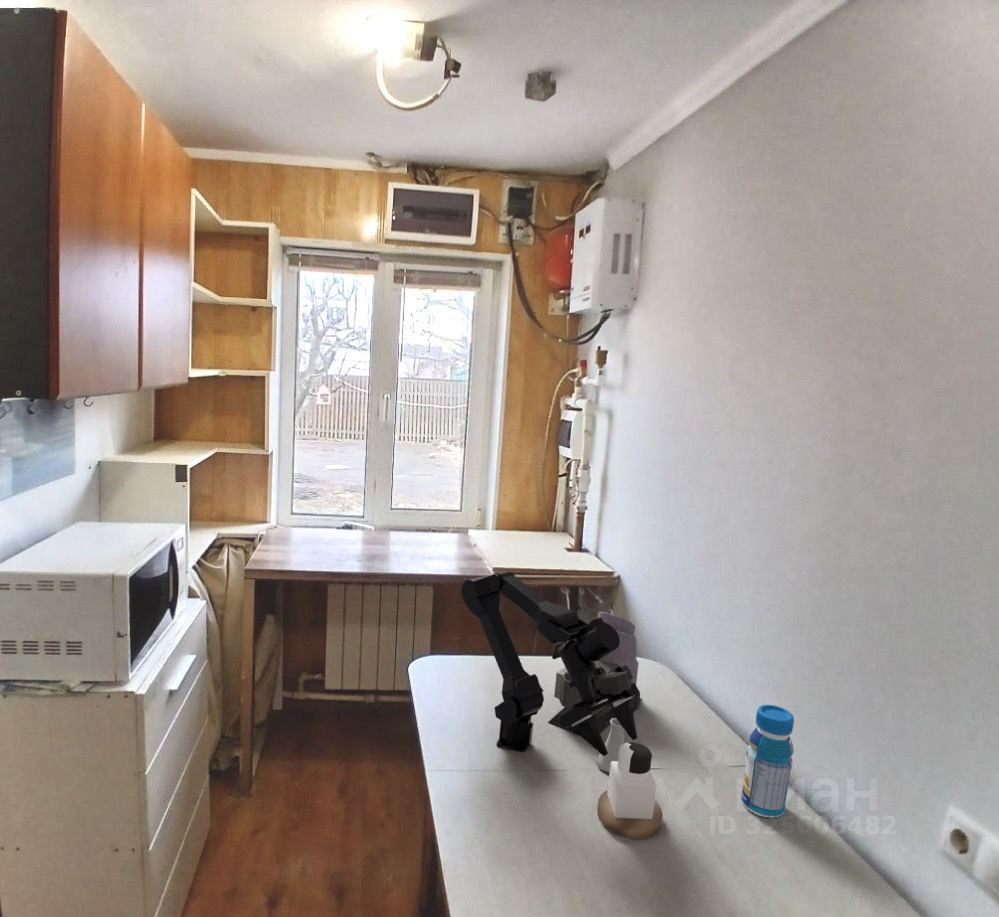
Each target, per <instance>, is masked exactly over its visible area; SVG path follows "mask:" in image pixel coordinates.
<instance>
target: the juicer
mask: <svg viewBox="0 0 999 917" xmlns="http://www.w3.org/2000/svg"><path fill="white" fill-rule="evenodd" d="M600 617H601V618H602V620H603V622H605V623H607V624H609V625H610V626H612V627H613V628H614V629H615V630H616V631H617V633H618V635H619V639H620V644H619V647H618V648H617V649H615V650H614V651H612V652H611V653H609V654H607V655H606V656H604V657H603V658H601V659H600V660H598V661H594V662H595V664H596V666H597V668H599V667H602V668H604V670H605V672H606V673H611V672H615V668H616V667H617V666H620V665H627V667H628V668H629V670H630V671H631V674H632V676H633V679H632V681H631V682H633V683H635V684H636V685H637V682H638V681H637V680H638V673H639V661H638V660H637V637H636V636H635V631H636V626H635V624H634V623H632V621H629V620H627V619H625V618H623V617H621V616H618V615H615V614H613V613H609V612H606V611H598V613H597V618H600ZM570 682H572V680H571V678H570V676H569V674H568V671H567V669H566V667H565V666H564V667H563V668H562V669H560V670H558V671H557V672H556V675H555V684H554V694H553V696H554V698H556V699H558V700H559V703H560V705H561V706H562V707H563V708H562V709H560V711H559V712H557V714H555V715H554V716H553V717H552V718H551V719H550V720H548V721H547V724H549V725H551V726H554V727H556V728H558V729H561V730H564V731H566V732H568V733H571V734H573V735H575V736H578V737H580V736H579V735H577V734H576V733H575V732H573V731H569V730H568V729H569V728H571V727H572V725H571V726H569V727H567V728H564V729H563V728H562V726H561V724H560V722H559V713H561V712H563V711H564V710H566V709H568V708H570V707H571V706H573V705H575V704H577V703H579V702H581V701H582V700H581V698H580V696H579V694H578V692H577V690H576V688H575V687H573V688H570V685H569V683H570ZM635 696H637V699H636V700H635V702H634V705H633V714H634V713H636V712H637V711H638V709H639V708H640V702H641V701H643V698H642V697H641V692H640V690H639V693H637V694H635V695H634V696H632V698H633V697H635ZM601 701H603V699H602V700H601ZM593 704H596V703H595V702H594V703H593ZM613 708H614V706H610V705H607V706H605V707H602V708H600V709H598V710H596V711H594V712H592V714H591V716H594V715H597V717H596V726H597V728H598V731H599V733H600V734H601V733H602V732H604V731H605V730H606V729H607V728H608V727H609V726H611V724H610V720H611V719H612V718H616V717H615V716H614V715H613V713H612V712H611V709H613Z"/></svg>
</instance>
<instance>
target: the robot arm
mask: <svg viewBox="0 0 999 917" xmlns="http://www.w3.org/2000/svg"><path fill="white" fill-rule="evenodd" d="M460 594H461V597H462V600H463V602H464V603H465V605H466V607H467V609H468V610H469V611H470V613H472V614H473V615H475V616H476V617H477V618H478V619H479V621H480V624H481V625H482V628H483V631H484V633H485V636H486V638H487V641H488V644H489V646H490V650H491V651H492V654H493V656H494V659H495V662H496V664H497V666H498V669H499V672H500V674H501V676H502V686H501V688H502V689H501V695H502V696H501V697H502V699H503V701H502V702H500V703H499V704H498V705H496V706H494V714H495V718H496V719H498V720H500V723H499V724H500V726H499V737H498V739H497V741H496V746H498V747H502V748H507V749H509V750H514V751H519V752H523V753H524V752H526V750H527V748H528V747H529V746H530V744H531V743H532V739H533V730H534V722H532V716H536V715H537V714H538V713H539V711H540V710H541V709H542V707H543V704H544V701H545V697H544V689H543V688H542V686H541V684H540V682H539V677H538V676H537V675H536V673H534V674H529V673H528V672H527V671H526V670H525V669H524V667H523V664H522V662H521V660H520V657H519V655H518V654H519V653H517V649H516V647H515V645H514V642H513V640H512V637H511V635H510V633H509V630H508V628H507V625H506V624H505V621H504V618H503V616H502V613H501V610H500V606H501V600H502V597H501V596H504V598H506V599H507V600H508V601H510V602H511V603H512V604H514V605H515V606H516V607H517V608H518V609H520V610H521V611H522V612H523V613H524V614H526V615H527V616H528V617H530V618H531V620H532V621H534V623H535V628H536V630H537V631H538V632H539V633H540V635H541V636H542V637H543V638H544V639H545V640H546V641H547V642H549V644H556V645H554V649H553V653H552V656H551V659H552V660H557V659H559V658H561V661H562V663H563V665H564V668H565V667H566V669H567V671H568V674H569V676H570V678H571V680H572V682H570V683H569V685H570V688H573V687H575V688H576V690H577V692H578V694H579V696H580V698H581V700H582V701H581V702H579V703H577V704H575V705H573V706H571V707H570V708H568V709H566V710H564V711H563V712H561V713H559V712H558V713H559V722H560V724H561V726H562V728H563V729H564V728H567V727H569V726H571V725H572V727H571V728H569V729H568V730H569V731H573V732H575V733H576V734H577V735H579V736H578V737H580V738H582V739H583V740H584V741H585V742H587V743H588V744H589V745H590V746H591V747H592V748H593V749H594V750H596V751H597V752H598V753H599V754H602V755H603V756H605V755H607V754H608V752H607V749H606V746H605V742H604V739H603V738H602V735H601V733H599V731H598V728H597V726H596V717H597V715H594V716H591V714H592V712H594V711H596V710H598V709H600V708H602V707H605V706H607V705H610V706H614V708H613V709H611V712H612V713H613V715H614V716H615V717H616V719H617V720H618V721H619V723H620V724H621V726H622V727H623V731H625V732H626V734H627V736H629V739H631V740H632V741H635V740H637V739H638V733H637V728H636V722H635V716H634V713H633V705H634V702H635V700H636V699H637V696H635V697H633V698H632V696H634V695H635V694H637V693H639V691H640V690H639V688H638V686H637V683H636V684H635V683H633V682H631V681H632V679H633V676H632V674H631V671H630V670H629V668H628V667H627V665H620V666H617V667H616V668H615V672H611V673H606V672H605V670H604V668H602V667H599V668H597V666H596V664H595V662H594V661H598V660H600V659H601V658H603V657H604V656H606V655H607V654H609V653H611V652H612V651H614V650H615V649H617V648H618V647H619V644H620V639H619V635H618V633H617V631H616V630H615V629H614V628H613V627H612V626H610V625H609V624H607V623H605V622H603V620H602V618H601V617H600V618H598V617H596V618H594V619H593V620H591V621H590V622H589V623H588V622H586V621H585V620H583V619H581V618H580V617H579V616H578V615H577V614H576V613H575V611H573V610H571V609H569V608H567V607H566V606H563V605H561V604H558V603H552V602H550V601H548V600H546V599H545V598H544V597H543V596H541V595H540V594H539V593H537V592H536V591H535V590H533V589H532V588H531V587H529V586H528V585H527V584H526V583H524V582H523V581H522V580H520V579H519V577H518V578H517V576H516V575H515V574H514V572H512V571H511V570H503V571H497V572H494V573H493V574H492V575H484V576H479V577H473V578H470V579H469V578H468V579H466V580H465V581H463V583H462V587H461V590H460ZM560 642H562V643H560ZM557 643H558V644H557ZM563 643H564V644H563ZM602 699H603V701H601V700H602ZM594 702H595V703H596V704H593V703H594ZM563 729H562V730H563ZM577 735H576V736H577Z"/></svg>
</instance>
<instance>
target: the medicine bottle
mask: <svg viewBox="0 0 999 917" xmlns="http://www.w3.org/2000/svg"><path fill="white" fill-rule="evenodd" d="M652 758H653V754H652V752H651V750H650V749H649V748H648V747H647V746H646V745H644V744H642V743H639V742H633V741H630V742H628V741H627V742H624V744H623V745H621V746H620V748H619V756H618V761H612V762H611V765H610V773H609V775H608V783H607V784H608V786H607V790H608V792H607V795H608V798H609V801H610V804H611V807H612V810H613V813H614V816H615V818H628V819H652V818H653V810H654V802H655V801H656V791H657V783H656V780H655V779H654V776H653V774H652V772H651V766H652Z"/></svg>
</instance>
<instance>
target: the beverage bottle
mask: <svg viewBox="0 0 999 917" xmlns="http://www.w3.org/2000/svg"><path fill="white" fill-rule="evenodd" d="M794 723H795V718H794V715H793V714H792V712H791V711H789V710H788V709H785V708H784V707H781V706H778V705H773V704H762V705H760V706H759V707H758V708H757V710H756V716H755V725H756V727H755V729H754V730H752V732H751V733H750V736H749V739H748V742H749V745H748V746H747V748H746V753H745V754H746V755H745V756H746V762H745V770H744V777H743V784H742V790H741V796H740V797H741V798H740V800H741V803H742V804H743V806H744V807H745V808H746V809H747V810H748V811H749V810H750V811H749V812H750V813H752V812H753V814H755V815H756V816H758V817H762V816H763V817H762V818H765V817H770V818H769V819H775V818H774V817H777V818H780V817H781V815H782V816H783V814H784V813H785V810H786V800H787V794H788V788H789V783H790V782H789V781H790V776H791V770H792V768H793V757H792V756H793V754H794V753H795V752H794V750H795V749H794V744H793V741H792V738H791V734H792V733H793V729H794ZM779 816H780V817H779Z"/></svg>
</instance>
